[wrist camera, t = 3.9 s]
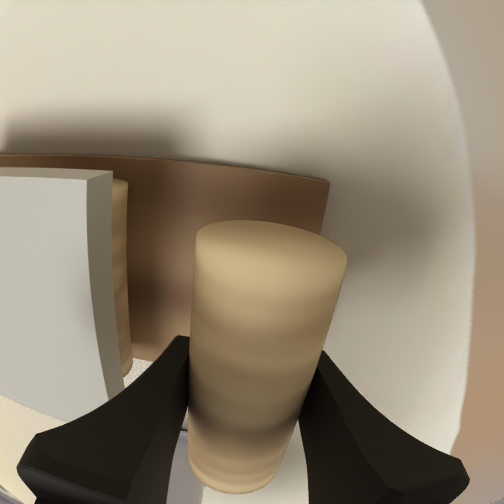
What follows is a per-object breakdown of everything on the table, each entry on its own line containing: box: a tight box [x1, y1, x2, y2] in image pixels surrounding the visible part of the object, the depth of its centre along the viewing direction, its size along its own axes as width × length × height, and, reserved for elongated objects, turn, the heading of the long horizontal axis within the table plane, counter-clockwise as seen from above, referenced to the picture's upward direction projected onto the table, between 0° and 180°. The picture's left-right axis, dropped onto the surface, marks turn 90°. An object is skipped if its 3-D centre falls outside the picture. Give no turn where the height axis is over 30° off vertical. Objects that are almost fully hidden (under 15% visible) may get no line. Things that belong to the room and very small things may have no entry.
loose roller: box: [188, 220, 348, 494], centre depth 10 cm, size 10×4×4 cm, turn 172°
